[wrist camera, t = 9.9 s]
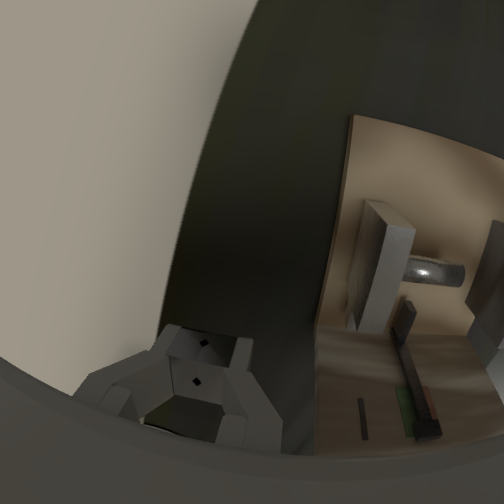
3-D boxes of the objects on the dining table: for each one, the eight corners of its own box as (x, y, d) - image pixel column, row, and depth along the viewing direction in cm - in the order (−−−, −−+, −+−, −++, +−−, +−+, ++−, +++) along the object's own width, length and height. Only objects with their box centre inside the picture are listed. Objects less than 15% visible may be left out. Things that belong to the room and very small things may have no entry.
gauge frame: (454, 336, 22) (508, 452, 9) (313, 325, 23) (311, 480, 11) (509, 164, 15) (637, 219, 3) (350, 116, 17) (450, 90, 4)
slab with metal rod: (420, 321, 19) (441, 365, 15) (338, 314, 20) (345, 362, 16) (455, 217, 16) (493, 245, 12) (365, 199, 17) (387, 224, 12)
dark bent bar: (402, 332, 20) (439, 438, 11) (384, 331, 20) (415, 441, 11) (415, 299, 19) (467, 404, 10) (397, 297, 19) (443, 407, 10)
